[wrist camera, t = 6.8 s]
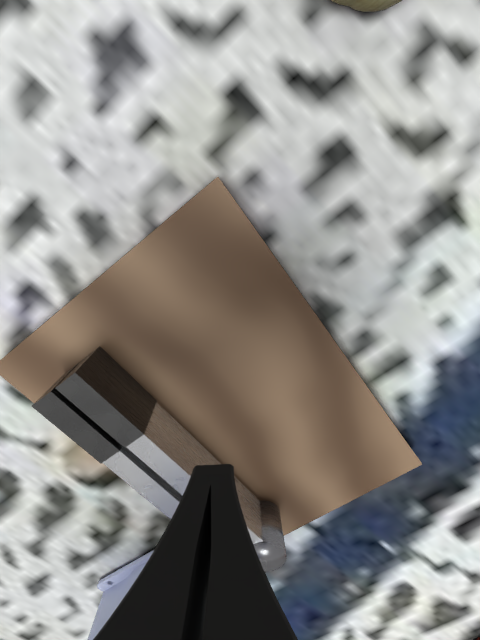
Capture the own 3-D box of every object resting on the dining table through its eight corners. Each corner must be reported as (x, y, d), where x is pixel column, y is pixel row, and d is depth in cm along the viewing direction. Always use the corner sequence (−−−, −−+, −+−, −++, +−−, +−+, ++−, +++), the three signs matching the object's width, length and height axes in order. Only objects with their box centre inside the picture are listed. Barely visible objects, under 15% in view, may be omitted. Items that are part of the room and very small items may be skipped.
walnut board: (228, 545, 28) (228, 564, 26) (7, 356, 21) (-9, 367, 19) (411, 448, 24) (422, 464, 23) (219, 178, 17) (217, 176, 16)
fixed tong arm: (229, 501, 23) (228, 544, 20) (213, 510, 24) (210, 553, 21) (78, 362, 19) (50, 391, 16) (62, 375, 19) (31, 406, 16)
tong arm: (287, 515, 24) (294, 560, 21) (257, 530, 25) (261, 576, 22) (107, 339, 18) (82, 366, 15) (75, 365, 19) (45, 396, 16)
